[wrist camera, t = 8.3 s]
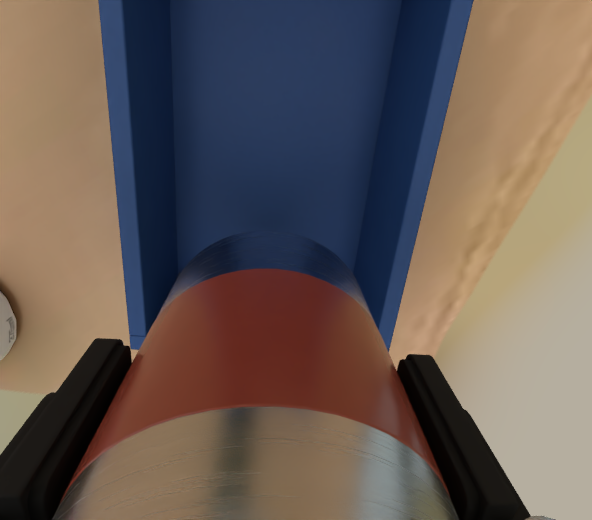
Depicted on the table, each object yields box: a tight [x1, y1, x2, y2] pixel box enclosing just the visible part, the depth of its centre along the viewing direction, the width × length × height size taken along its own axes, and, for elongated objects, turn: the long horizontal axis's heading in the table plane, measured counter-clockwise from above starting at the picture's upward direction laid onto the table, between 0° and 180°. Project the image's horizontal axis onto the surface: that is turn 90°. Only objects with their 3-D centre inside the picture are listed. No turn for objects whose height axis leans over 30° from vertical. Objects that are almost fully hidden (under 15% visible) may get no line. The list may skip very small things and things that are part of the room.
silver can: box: [52, 230, 459, 520], centre depth 8 cm, size 7×7×11 cm
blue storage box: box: [98, 0, 473, 353], centre depth 18 cm, size 19×13×7 cm
